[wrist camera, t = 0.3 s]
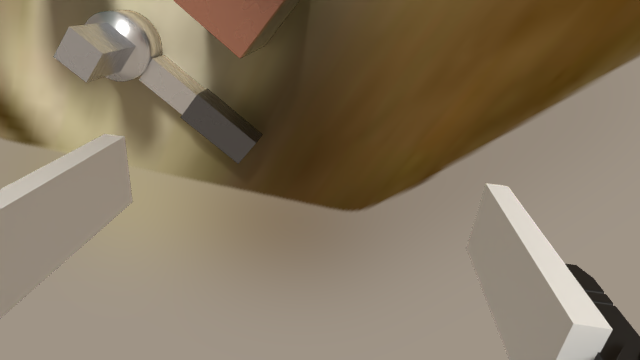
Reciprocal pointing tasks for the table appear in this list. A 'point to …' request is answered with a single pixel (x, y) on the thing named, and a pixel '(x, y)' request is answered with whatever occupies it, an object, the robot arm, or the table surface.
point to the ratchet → (152, 75)
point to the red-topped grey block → (240, 20)
